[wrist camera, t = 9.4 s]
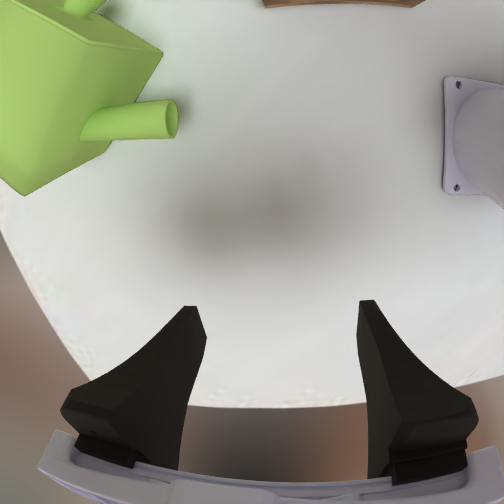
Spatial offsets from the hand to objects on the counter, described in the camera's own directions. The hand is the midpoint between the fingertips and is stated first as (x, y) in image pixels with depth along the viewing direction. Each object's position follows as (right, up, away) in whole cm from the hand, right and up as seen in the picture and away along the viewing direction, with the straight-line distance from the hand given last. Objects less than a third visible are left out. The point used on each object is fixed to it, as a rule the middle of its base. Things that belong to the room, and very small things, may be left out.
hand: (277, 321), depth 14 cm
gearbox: (-12, +16, +4) cm, 20 cm away
